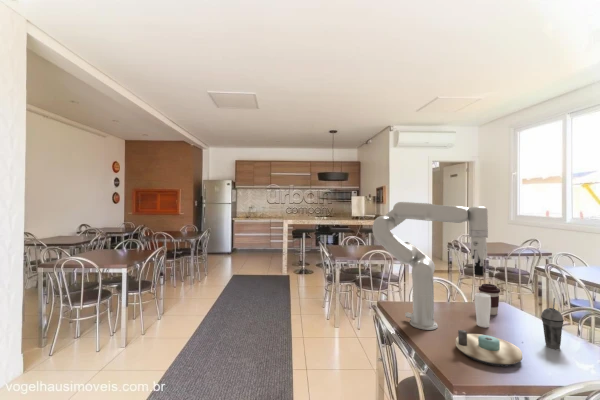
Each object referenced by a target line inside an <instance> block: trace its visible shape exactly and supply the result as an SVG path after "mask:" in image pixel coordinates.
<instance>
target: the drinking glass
mask: <svg viewBox="0 0 600 400" xmlns="http://www.w3.org/2000/svg"><path fill="white" fill-rule="evenodd" d="M474 308H475V318H476V325H477V326H478V327H480V328H484V329H485V328H487V329H488V328H490V319H491V315H490V310H491V296H490V295H488V294H484V293H480V292H476V293H474Z"/></svg>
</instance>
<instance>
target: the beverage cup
mask: <svg viewBox="0 0 600 400" xmlns="http://www.w3.org/2000/svg"><path fill="white" fill-rule="evenodd" d="M555 304H556V298H555V297H553V302H552V307H547V308H545V309H544V310H543V311H542V312H541V316H540V318H541V322H542V325H543V326H542V327H543V336H544V343H545V346H546V347H547V348H550V349H553V350H561V343H562V333H563V332H562V331H563V327H564V317H563V315H562V313H561V312H560V311H559V310H557V309H556V308H555V306H556V305H555Z"/></svg>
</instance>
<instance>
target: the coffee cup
mask: <svg viewBox="0 0 600 400" xmlns="http://www.w3.org/2000/svg"><path fill="white" fill-rule="evenodd" d="M478 291H479V293H484V294H488V295H490V296H491V310H490V316H496V315H498V314H499V313H498V312H499V311H498V309H499V304H500V302H499V301H500V295H499V294H500V293H501V289H500V288H498V287H497V285H496V284H490V283H482V284H481V285H480V286H479V285H478Z"/></svg>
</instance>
